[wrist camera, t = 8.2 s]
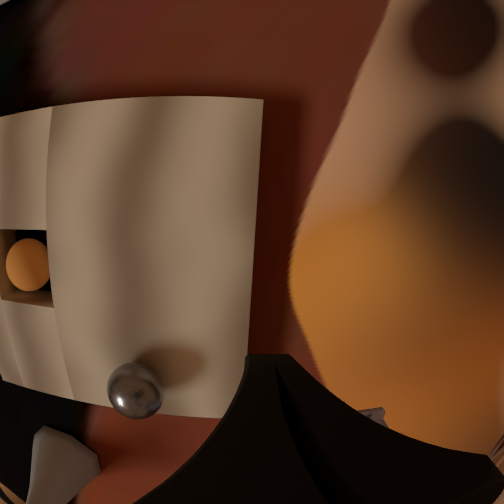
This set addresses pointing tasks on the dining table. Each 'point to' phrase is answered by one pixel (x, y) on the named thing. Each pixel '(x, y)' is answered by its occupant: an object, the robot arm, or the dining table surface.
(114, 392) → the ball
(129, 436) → the dining table surface
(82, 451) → the flask
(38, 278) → the ball
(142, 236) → the board
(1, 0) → the ceramic plate
